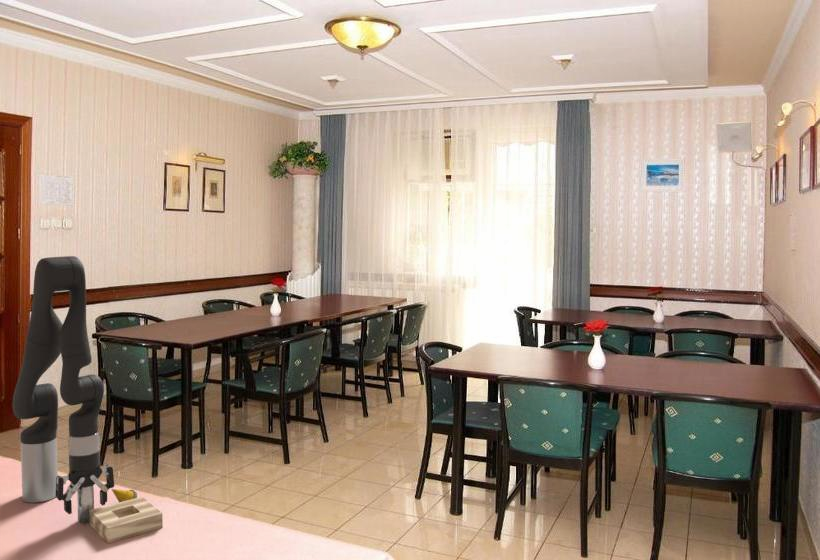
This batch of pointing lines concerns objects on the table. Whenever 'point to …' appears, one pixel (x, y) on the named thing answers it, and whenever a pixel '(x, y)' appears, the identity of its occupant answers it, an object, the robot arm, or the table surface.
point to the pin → (85, 503)
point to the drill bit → (124, 495)
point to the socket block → (125, 519)
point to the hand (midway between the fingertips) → (86, 508)
